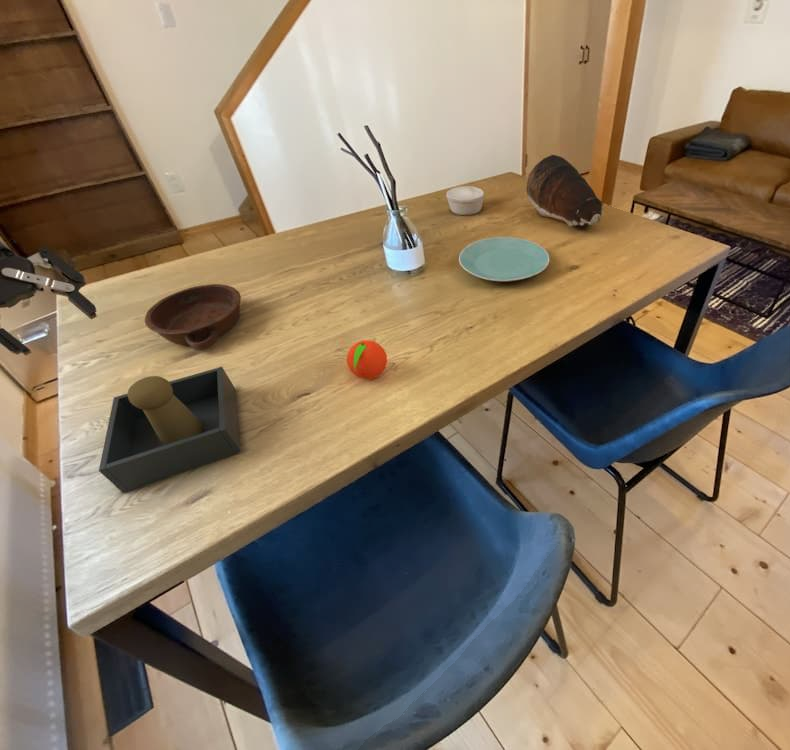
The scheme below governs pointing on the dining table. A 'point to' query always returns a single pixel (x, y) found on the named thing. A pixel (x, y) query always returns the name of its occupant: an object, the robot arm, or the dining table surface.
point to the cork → (164, 410)
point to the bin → (156, 462)
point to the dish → (195, 315)
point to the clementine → (366, 359)
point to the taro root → (562, 192)
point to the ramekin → (465, 200)
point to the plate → (504, 259)
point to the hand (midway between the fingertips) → (62, 333)
